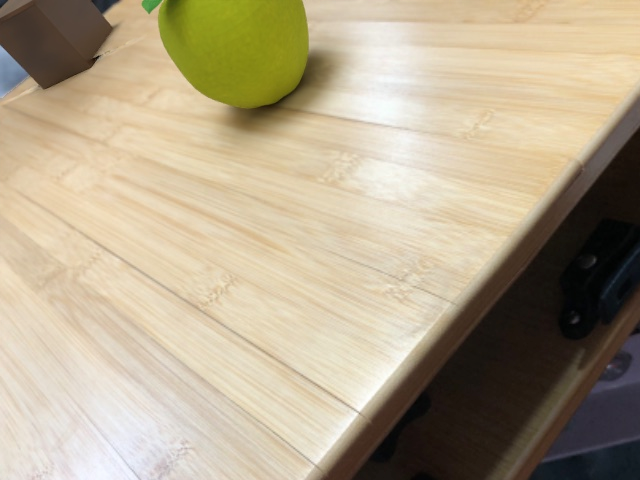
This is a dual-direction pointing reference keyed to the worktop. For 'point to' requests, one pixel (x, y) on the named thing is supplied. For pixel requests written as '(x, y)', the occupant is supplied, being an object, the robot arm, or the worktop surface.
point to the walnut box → (52, 36)
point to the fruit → (236, 46)
